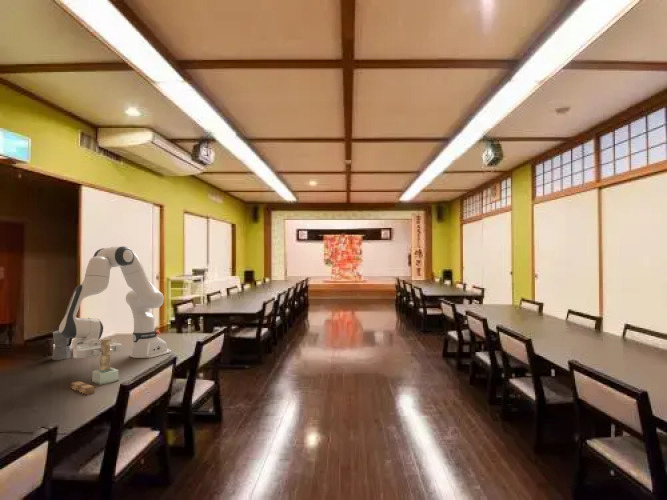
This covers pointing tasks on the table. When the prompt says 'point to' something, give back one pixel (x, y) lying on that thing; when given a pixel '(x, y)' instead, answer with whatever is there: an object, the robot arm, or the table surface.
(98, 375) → the pale green hollow block
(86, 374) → the table surface
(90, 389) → the tan wooden bar
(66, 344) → the coffeepot
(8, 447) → the table surface
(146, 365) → the table surface
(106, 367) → the tan wooden block
